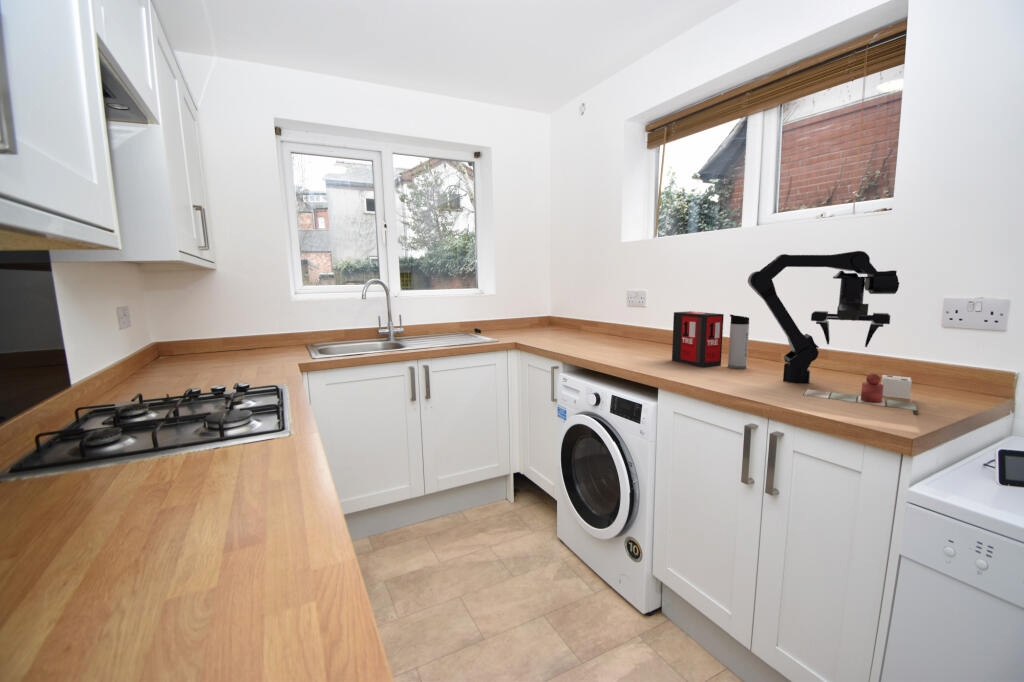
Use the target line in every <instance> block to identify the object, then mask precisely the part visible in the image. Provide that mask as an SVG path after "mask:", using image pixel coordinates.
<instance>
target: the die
mask: <svg viewBox="0 0 1024 682" xmlns="http://www.w3.org/2000/svg"><path fill="white" fill-rule="evenodd" d="M881 384H882V385H884V386H883V396H882V397H889V398H896V399H897V398H898V399H903V400H910V399H911V391H912V385H913V380H912V377H908V376H899V375H887V374H882V376H881Z"/></svg>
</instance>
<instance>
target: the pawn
mask: <svg viewBox="0 0 1024 682" xmlns="http://www.w3.org/2000/svg"><path fill="white" fill-rule="evenodd" d="M865 380H866V381H864V382H861V393H860V396H861V400H862V401H865V402H871V403H881V402H882V399H883V397H884V396H883V386H884V385H882V383H881V382H882V377H880V375H879V374H876V373H870V374H868V375H867V376H866V378H865Z"/></svg>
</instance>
